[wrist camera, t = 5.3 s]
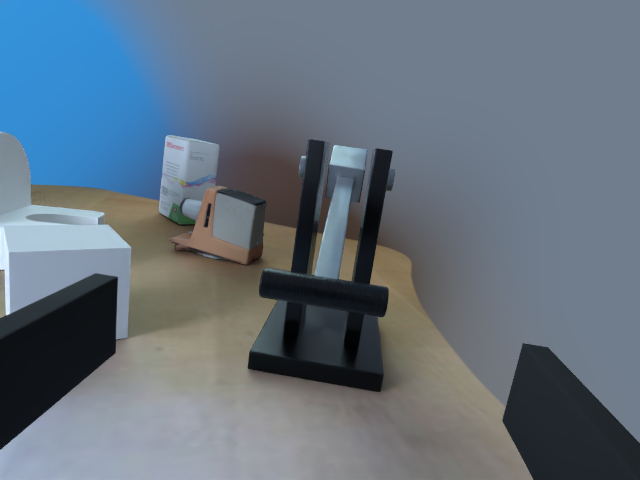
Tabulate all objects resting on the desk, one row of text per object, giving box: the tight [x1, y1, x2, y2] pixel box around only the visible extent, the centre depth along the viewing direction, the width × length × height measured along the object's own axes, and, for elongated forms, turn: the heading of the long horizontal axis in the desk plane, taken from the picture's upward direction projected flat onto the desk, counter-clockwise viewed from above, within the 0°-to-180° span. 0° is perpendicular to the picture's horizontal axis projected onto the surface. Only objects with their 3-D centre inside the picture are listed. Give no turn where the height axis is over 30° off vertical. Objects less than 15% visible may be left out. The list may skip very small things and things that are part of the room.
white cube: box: [4, 225, 131, 340], centre depth 27 cm, size 6×6×6 cm
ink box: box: [159, 135, 219, 225], centre depth 62 cm, size 9×5×12 cm, turn 39°
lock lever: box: [259, 145, 389, 317], centre depth 23 cm, size 13×6×2 cm, turn 174°
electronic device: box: [170, 186, 266, 265], centre depth 47 cm, size 4×10×8 cm, turn 76°
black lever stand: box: [248, 139, 395, 392], centre depth 28 cm, size 10×8×14 cm
